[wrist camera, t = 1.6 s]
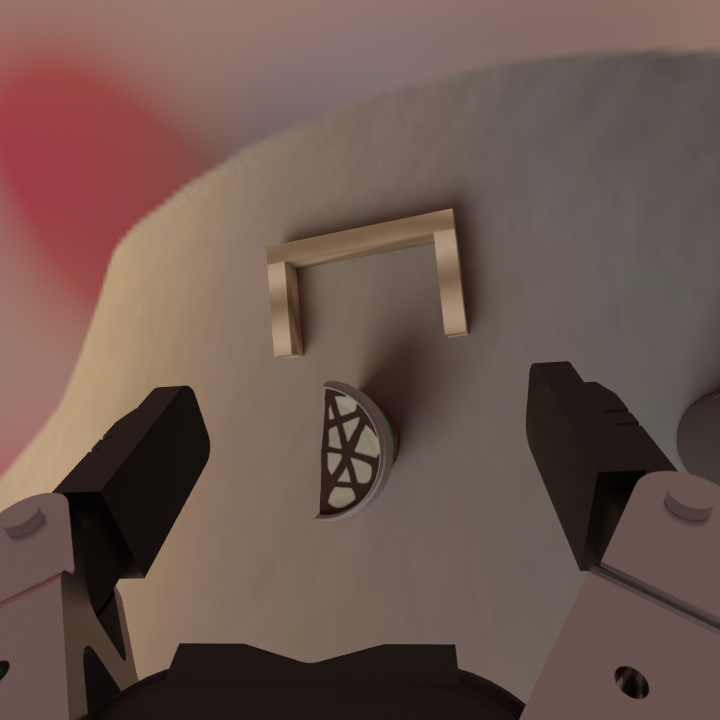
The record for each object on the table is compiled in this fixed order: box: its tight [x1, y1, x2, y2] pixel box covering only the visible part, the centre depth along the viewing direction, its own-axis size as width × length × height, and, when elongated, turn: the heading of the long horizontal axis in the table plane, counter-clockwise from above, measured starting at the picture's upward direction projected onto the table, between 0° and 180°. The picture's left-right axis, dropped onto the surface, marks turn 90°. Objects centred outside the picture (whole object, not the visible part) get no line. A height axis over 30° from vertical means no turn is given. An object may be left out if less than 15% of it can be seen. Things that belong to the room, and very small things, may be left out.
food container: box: [314, 381, 399, 521], centre depth 42 cm, size 12×6×10 cm, turn 177°
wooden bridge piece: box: [266, 209, 468, 358], centre depth 47 cm, size 12×20×3 cm, turn 96°
